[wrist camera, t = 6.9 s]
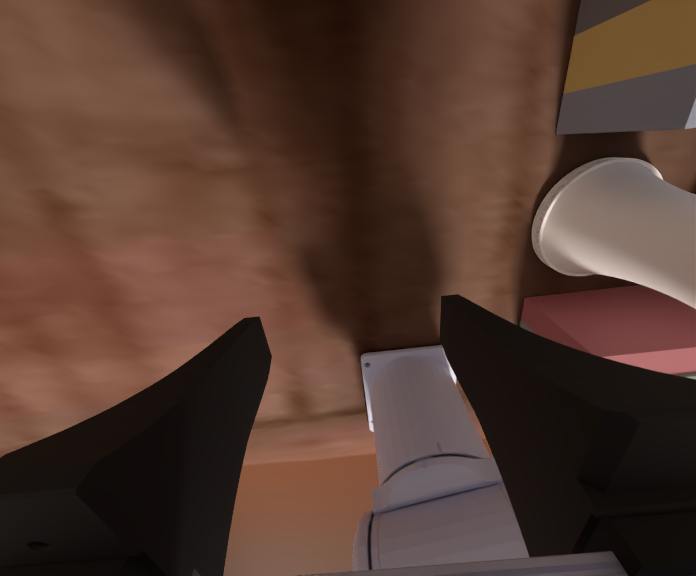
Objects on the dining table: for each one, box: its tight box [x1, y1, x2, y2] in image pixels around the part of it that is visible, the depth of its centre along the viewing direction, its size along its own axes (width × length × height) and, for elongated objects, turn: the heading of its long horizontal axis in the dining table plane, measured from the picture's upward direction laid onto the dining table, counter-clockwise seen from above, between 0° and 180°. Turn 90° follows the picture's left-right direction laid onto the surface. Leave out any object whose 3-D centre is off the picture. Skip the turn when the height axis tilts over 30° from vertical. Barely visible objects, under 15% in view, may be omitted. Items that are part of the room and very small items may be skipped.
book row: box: [519, 0, 696, 379], centre depth 15 cm, size 22×12×7 cm, turn 7°
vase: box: [531, 157, 696, 309], centre depth 15 cm, size 8×8×10 cm
